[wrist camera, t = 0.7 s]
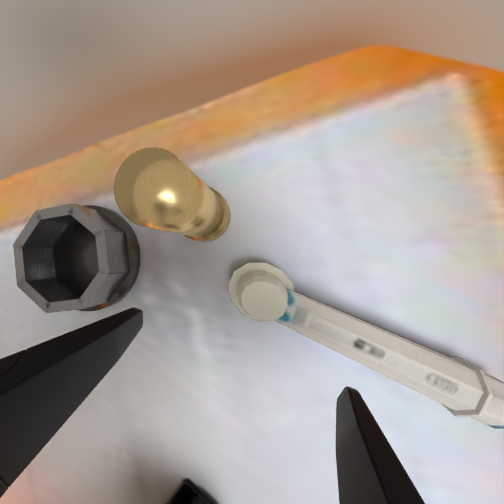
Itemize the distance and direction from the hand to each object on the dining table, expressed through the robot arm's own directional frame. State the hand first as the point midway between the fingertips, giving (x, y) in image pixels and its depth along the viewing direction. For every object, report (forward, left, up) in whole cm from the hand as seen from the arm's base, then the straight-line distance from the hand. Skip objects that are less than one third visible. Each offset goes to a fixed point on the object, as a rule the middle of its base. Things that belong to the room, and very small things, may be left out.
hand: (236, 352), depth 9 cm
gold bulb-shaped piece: (+3, +10, -14) cm, 17 cm away
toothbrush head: (+3, -9, -14) cm, 17 cm away
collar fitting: (-9, +18, -13) cm, 24 cm away
